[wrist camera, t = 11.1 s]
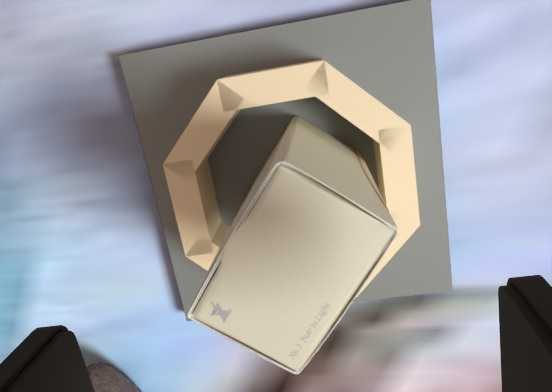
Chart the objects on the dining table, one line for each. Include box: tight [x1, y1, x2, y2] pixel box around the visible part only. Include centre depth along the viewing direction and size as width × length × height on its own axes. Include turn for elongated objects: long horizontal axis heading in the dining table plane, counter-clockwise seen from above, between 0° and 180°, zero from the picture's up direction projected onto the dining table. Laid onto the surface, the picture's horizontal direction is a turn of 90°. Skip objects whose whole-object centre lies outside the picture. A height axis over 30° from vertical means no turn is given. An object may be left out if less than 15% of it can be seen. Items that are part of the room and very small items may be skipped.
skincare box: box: [187, 116, 399, 374], centre depth 20 cm, size 6×4×12 cm
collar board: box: [119, 0, 452, 321], centre depth 25 cm, size 16×16×4 cm
